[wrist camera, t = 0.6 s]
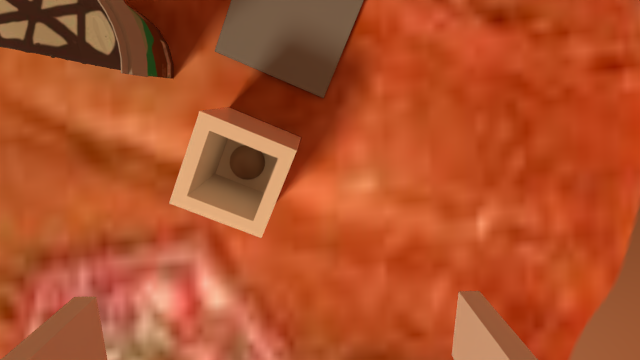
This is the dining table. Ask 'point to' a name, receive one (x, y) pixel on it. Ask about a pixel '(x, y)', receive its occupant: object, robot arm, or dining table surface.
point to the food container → (86, 34)
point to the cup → (217, 177)
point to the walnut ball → (247, 162)
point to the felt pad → (289, 38)
